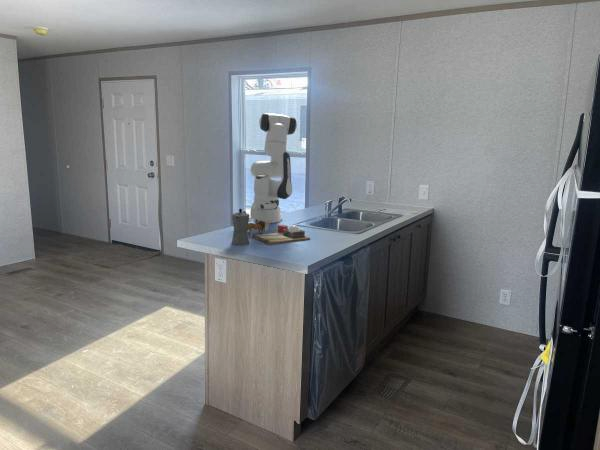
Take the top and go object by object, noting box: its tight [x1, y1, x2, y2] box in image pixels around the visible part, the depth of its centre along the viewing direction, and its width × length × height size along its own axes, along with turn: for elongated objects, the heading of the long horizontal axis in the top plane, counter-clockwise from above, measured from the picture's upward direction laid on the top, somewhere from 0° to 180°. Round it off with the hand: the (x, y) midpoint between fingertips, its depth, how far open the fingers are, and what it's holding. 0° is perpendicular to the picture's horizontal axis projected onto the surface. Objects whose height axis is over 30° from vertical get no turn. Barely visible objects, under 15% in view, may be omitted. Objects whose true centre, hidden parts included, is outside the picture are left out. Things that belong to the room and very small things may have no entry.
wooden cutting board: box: [250, 228, 311, 246], centre depth 240 cm, size 19×26×4 cm
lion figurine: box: [247, 221, 265, 236], centre depth 248 cm, size 15×5×9 cm, turn 118°
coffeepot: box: [231, 208, 250, 246], centre depth 227 cm, size 15×9×18 cm, turn 171°
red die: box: [277, 224, 289, 233], centre depth 255 cm, size 4×4×4 cm
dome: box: [288, 224, 301, 232], centre depth 243 cm, size 6×6×6 cm
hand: (261, 228), depth 249 cm, fingers open, 8 cm apart
